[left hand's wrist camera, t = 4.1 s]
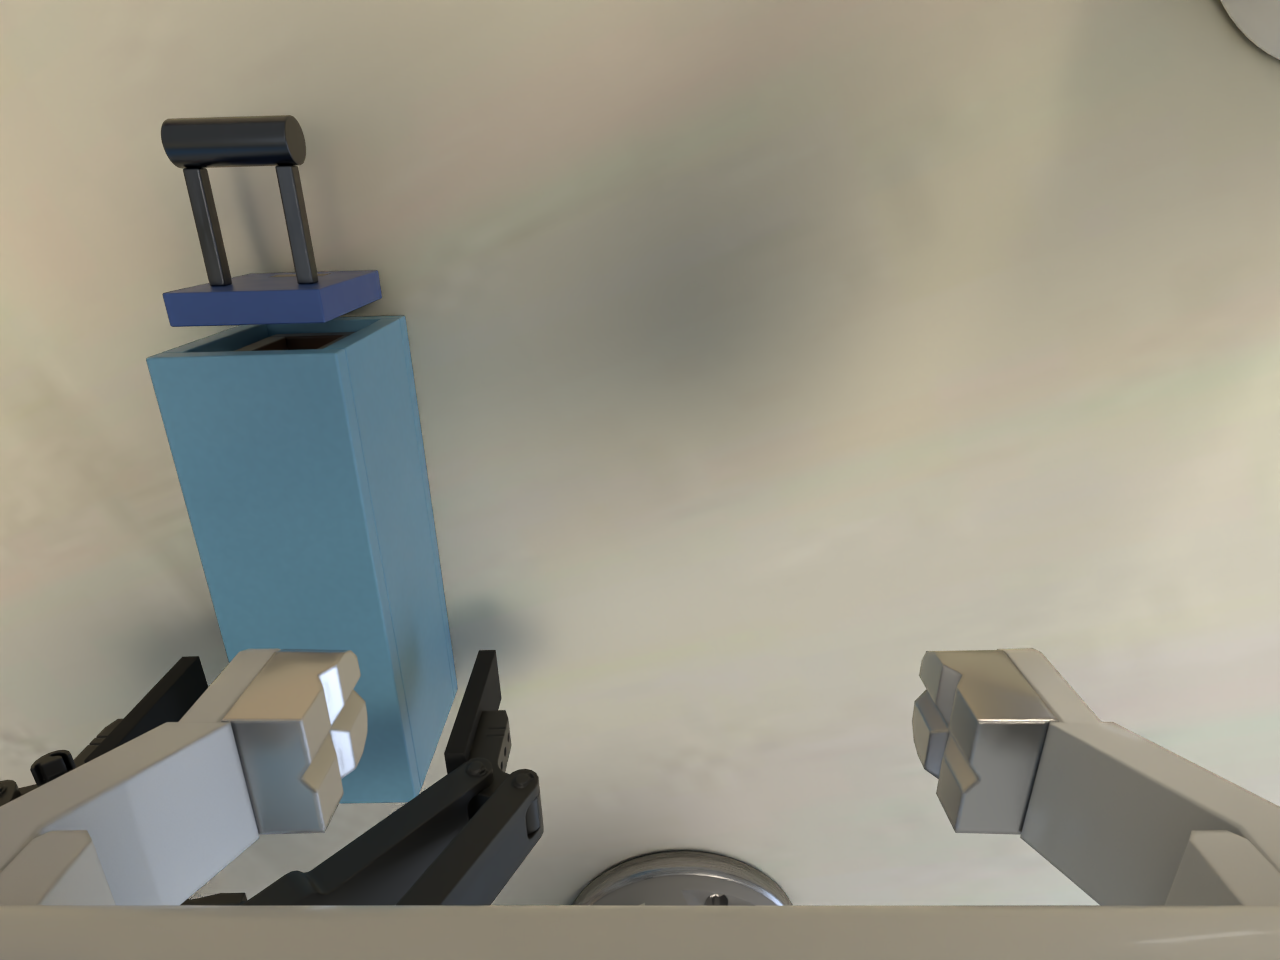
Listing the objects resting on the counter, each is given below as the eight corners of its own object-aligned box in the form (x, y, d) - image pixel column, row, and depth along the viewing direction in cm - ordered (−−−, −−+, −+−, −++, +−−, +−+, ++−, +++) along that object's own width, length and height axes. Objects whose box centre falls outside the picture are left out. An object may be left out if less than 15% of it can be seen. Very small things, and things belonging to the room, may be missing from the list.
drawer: (218, 128, 30) (115, 114, 24) (356, 124, 30) (286, 109, 24) (330, 651, 39) (274, 734, 33) (435, 649, 39) (399, 731, 33)
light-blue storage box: (256, 319, 34) (144, 358, 26) (405, 315, 34) (336, 352, 26) (336, 691, 41) (267, 805, 34) (457, 689, 41) (416, 803, 34)
